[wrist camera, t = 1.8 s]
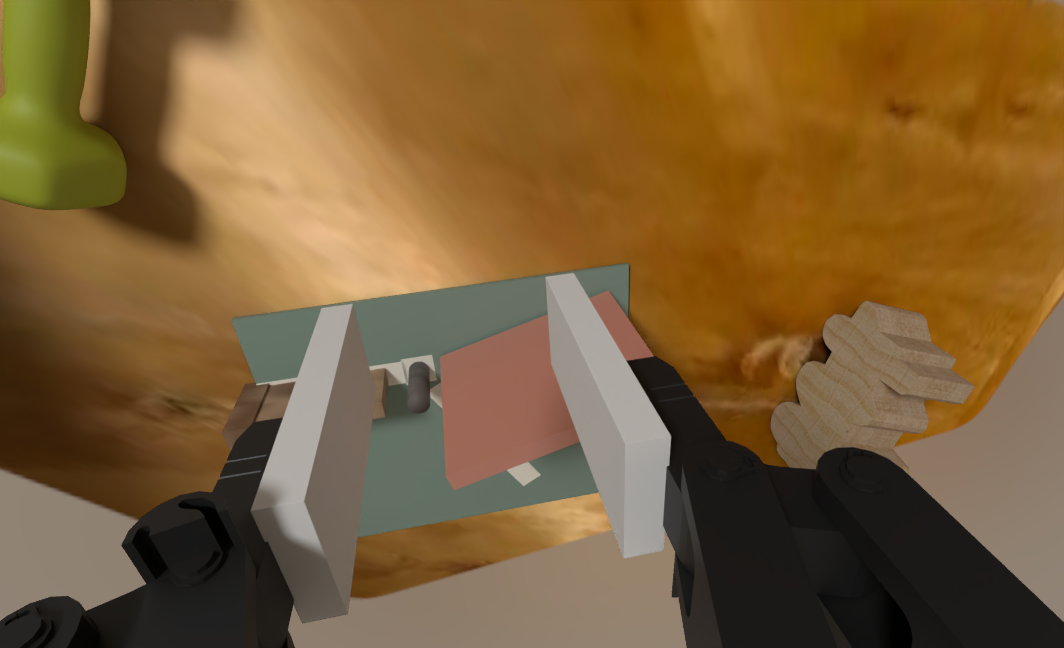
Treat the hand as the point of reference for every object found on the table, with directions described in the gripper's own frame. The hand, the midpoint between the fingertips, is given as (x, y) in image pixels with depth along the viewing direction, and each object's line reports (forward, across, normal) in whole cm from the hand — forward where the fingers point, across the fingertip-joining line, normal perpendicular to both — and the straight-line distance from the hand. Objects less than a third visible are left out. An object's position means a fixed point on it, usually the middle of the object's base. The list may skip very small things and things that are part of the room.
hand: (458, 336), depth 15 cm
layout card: (+25, -2, -22) cm, 33 cm away
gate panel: (+24, +5, -14) cm, 28 cm away
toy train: (+25, +32, -24) cm, 47 cm away
